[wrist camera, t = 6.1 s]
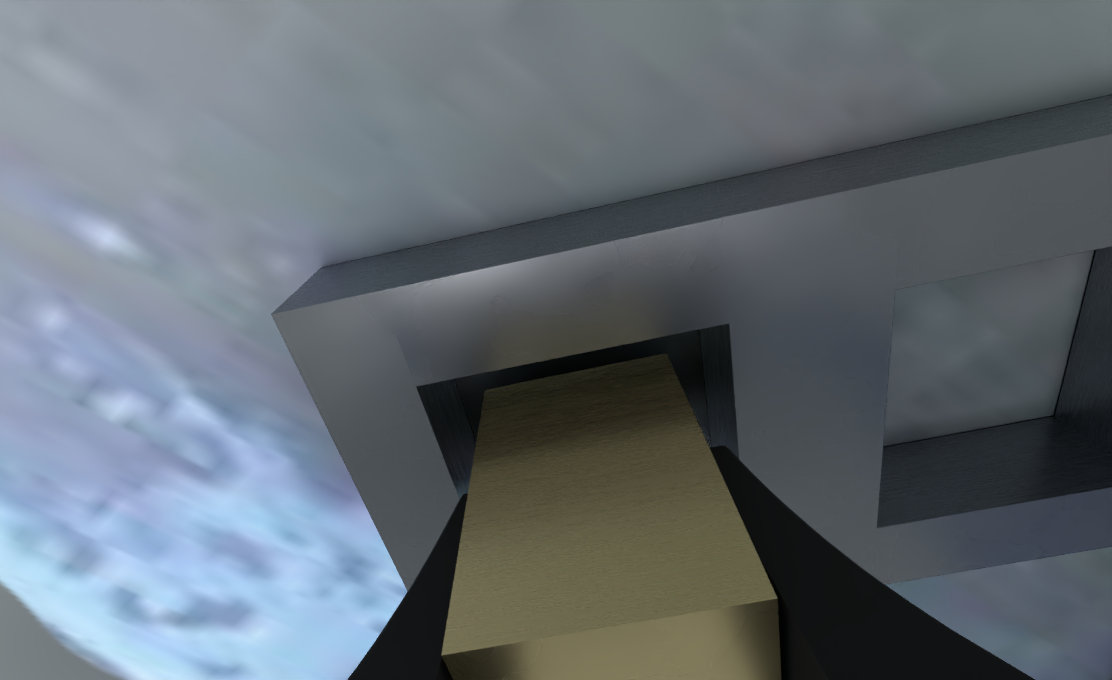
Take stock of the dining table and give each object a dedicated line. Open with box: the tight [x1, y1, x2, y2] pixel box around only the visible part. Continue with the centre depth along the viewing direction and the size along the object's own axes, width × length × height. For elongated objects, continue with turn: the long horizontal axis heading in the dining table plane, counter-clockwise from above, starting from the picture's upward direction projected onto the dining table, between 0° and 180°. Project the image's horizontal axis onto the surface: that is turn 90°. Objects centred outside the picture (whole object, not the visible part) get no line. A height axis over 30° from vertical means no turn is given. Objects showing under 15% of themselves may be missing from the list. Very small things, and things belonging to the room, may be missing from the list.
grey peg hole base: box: [271, 95, 1112, 591], centre depth 12 cm, size 19×10×2 cm, turn 102°
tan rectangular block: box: [441, 353, 781, 680], centre depth 10 cm, size 4×4×6 cm
